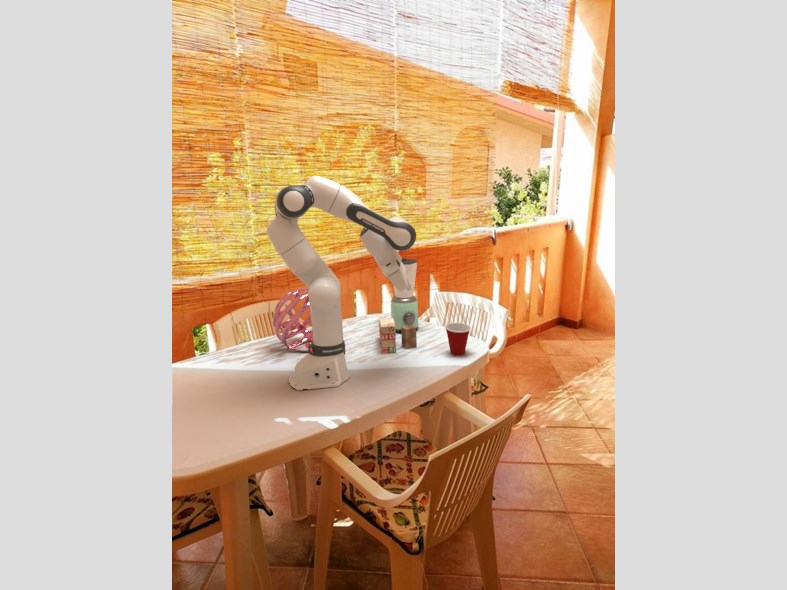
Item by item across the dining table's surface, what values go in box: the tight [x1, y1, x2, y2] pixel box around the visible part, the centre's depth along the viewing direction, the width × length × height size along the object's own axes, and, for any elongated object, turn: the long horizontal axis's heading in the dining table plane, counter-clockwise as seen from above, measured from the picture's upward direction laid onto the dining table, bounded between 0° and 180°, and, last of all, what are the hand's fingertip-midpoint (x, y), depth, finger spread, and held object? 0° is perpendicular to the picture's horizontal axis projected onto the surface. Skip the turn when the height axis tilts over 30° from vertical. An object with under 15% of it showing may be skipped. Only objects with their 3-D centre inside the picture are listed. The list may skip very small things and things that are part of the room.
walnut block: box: [401, 325, 418, 350], centre depth 214 cm, size 5×5×9 cm
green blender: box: [390, 258, 419, 334], centre depth 236 cm, size 19×13×35 cm
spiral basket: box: [272, 287, 313, 353], centre depth 215 cm, size 28×28×27 cm
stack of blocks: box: [378, 317, 397, 355], centre depth 216 cm, size 21×6×12 cm, turn 4°
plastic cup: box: [444, 322, 472, 356], centre depth 203 cm, size 11×11×12 cm
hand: (409, 288), depth 190 cm, fingers closed
